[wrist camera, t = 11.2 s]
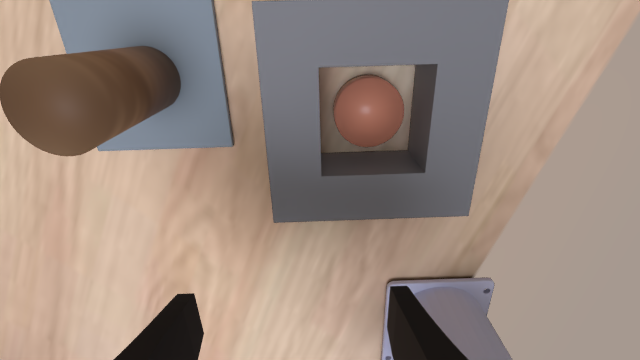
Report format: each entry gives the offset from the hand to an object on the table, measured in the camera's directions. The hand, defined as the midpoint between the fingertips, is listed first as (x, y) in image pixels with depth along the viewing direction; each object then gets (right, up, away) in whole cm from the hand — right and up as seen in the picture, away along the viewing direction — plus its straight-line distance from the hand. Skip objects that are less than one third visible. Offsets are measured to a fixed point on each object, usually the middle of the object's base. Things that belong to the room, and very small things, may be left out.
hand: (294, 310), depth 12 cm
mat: (-8, +10, +6) cm, 15 cm away
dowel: (-8, +10, +6) cm, 15 cm away
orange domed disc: (+4, +9, +7) cm, 12 cm away
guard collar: (+4, +9, +7) cm, 12 cm away
